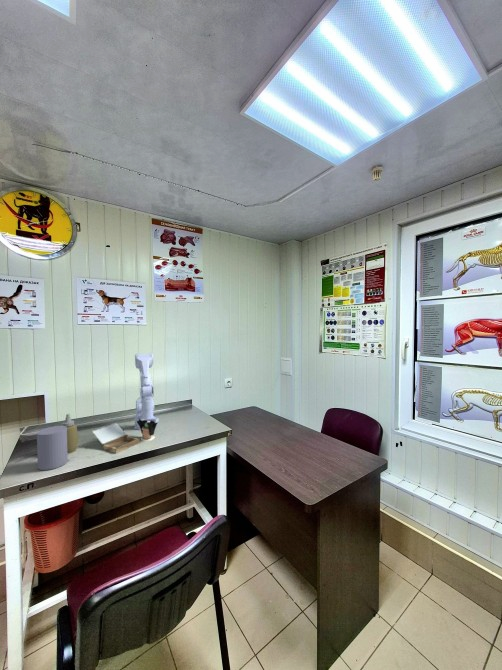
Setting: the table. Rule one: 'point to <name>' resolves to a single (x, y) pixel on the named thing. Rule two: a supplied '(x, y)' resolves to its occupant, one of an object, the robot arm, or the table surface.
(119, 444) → the cold frame
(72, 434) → the squeeze bottle
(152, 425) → the robot arm
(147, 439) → the saucer
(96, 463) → the table surface
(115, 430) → the lid
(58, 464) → the container
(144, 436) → the clay pot
